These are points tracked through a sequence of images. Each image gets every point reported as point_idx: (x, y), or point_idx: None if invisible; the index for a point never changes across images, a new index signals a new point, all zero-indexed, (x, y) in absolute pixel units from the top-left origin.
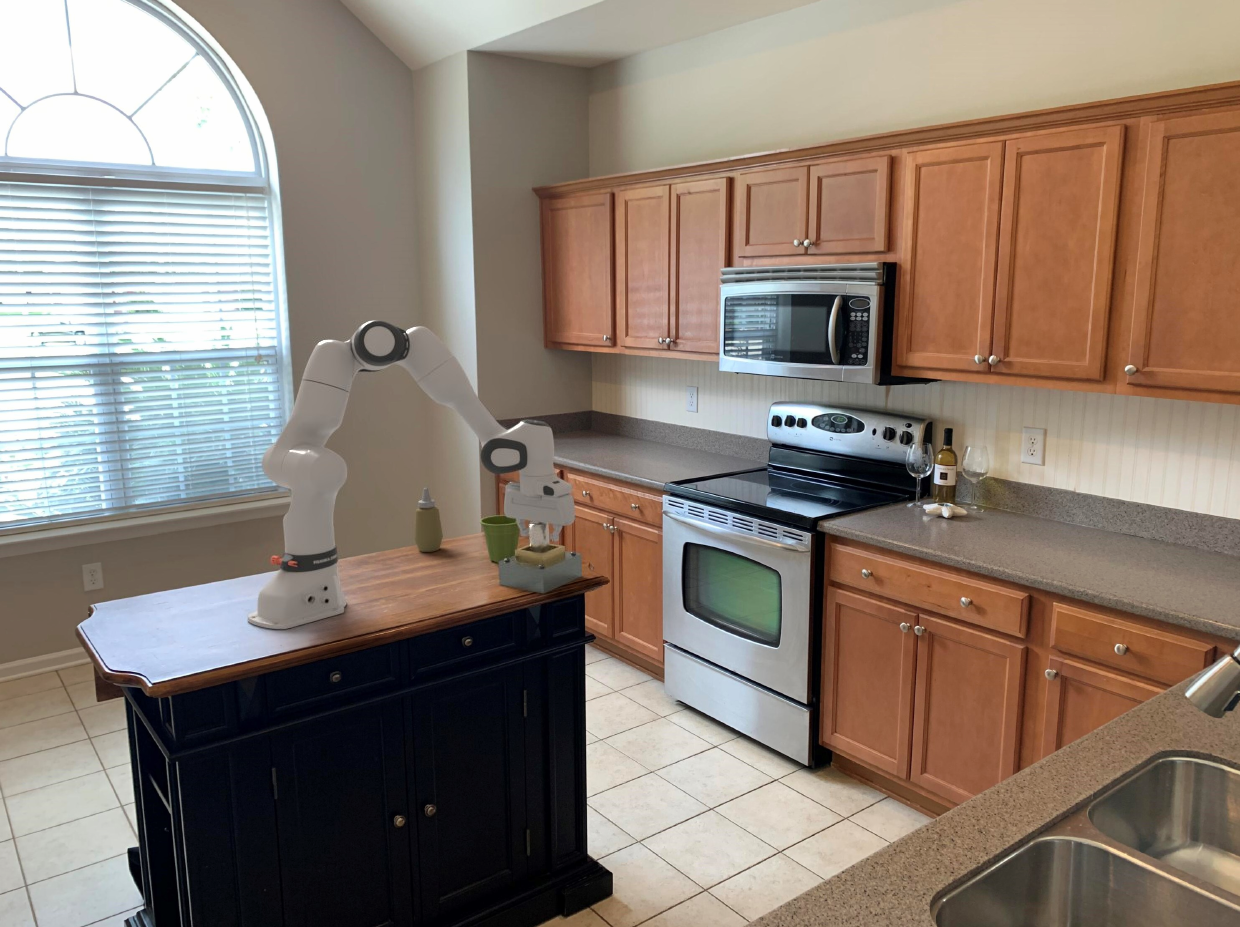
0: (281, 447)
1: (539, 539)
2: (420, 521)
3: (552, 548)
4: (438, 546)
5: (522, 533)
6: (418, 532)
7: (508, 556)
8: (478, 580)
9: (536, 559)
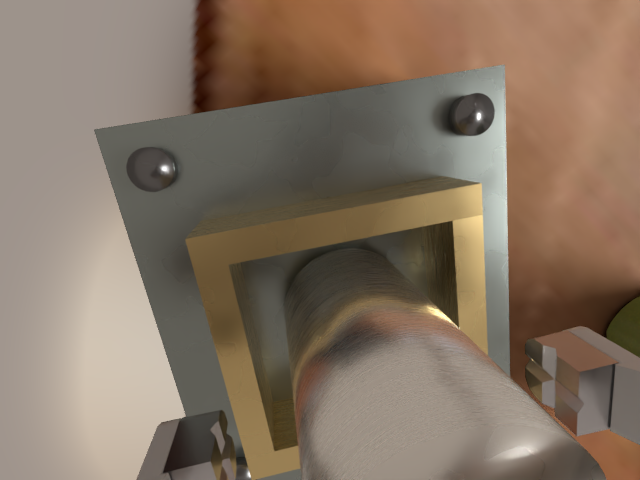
0: None
1: (318, 350)
2: None
3: None
4: None
5: (576, 342)
6: None
7: (626, 338)
8: (559, 71)
9: (262, 215)
